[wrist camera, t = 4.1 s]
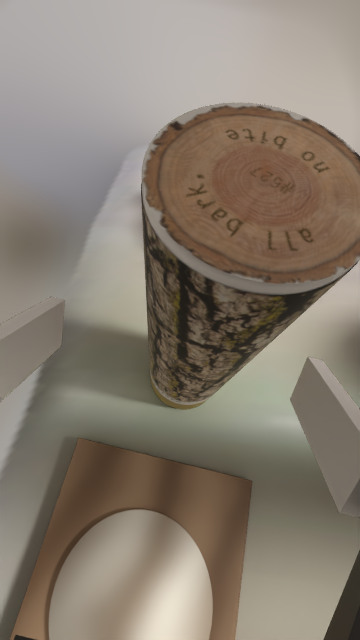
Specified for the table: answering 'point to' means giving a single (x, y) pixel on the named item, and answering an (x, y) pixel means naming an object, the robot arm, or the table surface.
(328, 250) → the paper tube
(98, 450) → the walnut board
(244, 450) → the table surface
